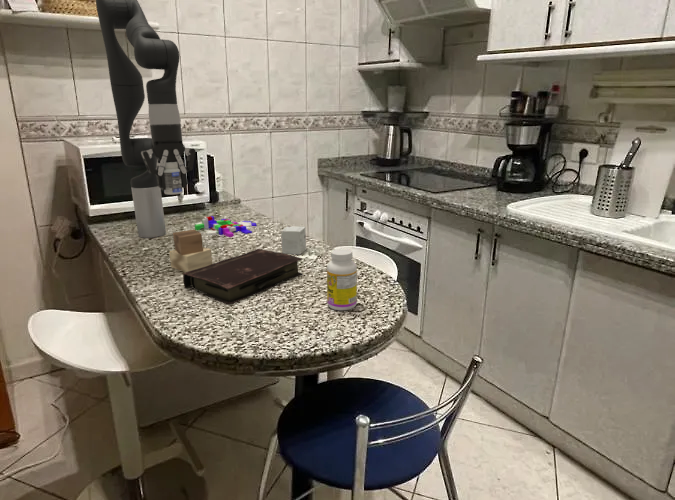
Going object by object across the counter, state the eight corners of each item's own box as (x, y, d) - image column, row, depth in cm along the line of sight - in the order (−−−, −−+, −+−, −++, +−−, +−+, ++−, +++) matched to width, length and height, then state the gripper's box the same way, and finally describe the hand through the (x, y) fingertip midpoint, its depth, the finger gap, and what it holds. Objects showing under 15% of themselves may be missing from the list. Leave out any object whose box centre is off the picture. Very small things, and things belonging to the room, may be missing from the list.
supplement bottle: (326, 300, 106) (325, 247, 102) (354, 298, 106) (354, 246, 102) (328, 312, 99) (327, 256, 96) (358, 311, 100) (358, 255, 96)
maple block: (171, 268, 128) (169, 251, 127) (194, 260, 134) (193, 244, 133) (189, 274, 124) (187, 256, 122) (212, 265, 130) (211, 249, 128)
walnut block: (175, 249, 128) (172, 232, 127) (196, 246, 131) (194, 229, 130) (181, 255, 123) (179, 237, 122) (203, 251, 127) (201, 233, 125)
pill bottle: (176, 195, 121) (172, 162, 118) (160, 194, 122) (156, 162, 119) (186, 192, 125) (182, 161, 123) (170, 191, 126) (167, 160, 124)
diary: (183, 289, 114) (181, 271, 113) (258, 263, 133) (256, 247, 132) (231, 307, 103) (229, 287, 102) (305, 276, 122) (304, 258, 121)
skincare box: (300, 255, 138) (299, 231, 136) (281, 253, 139) (280, 230, 137) (306, 249, 144) (305, 226, 141) (288, 247, 145) (287, 225, 143)
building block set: (269, 230, 167) (268, 218, 166) (217, 241, 154) (215, 228, 153) (236, 218, 185) (235, 208, 184) (187, 227, 173) (186, 215, 171)
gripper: (187, 122, 125) (194, 184, 130) (132, 123, 117) (141, 189, 122) (197, 122, 119) (203, 187, 124) (139, 123, 111) (149, 193, 116)
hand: (173, 188), depth 123 cm, fingers closed on pill bottle, 4 cm apart
